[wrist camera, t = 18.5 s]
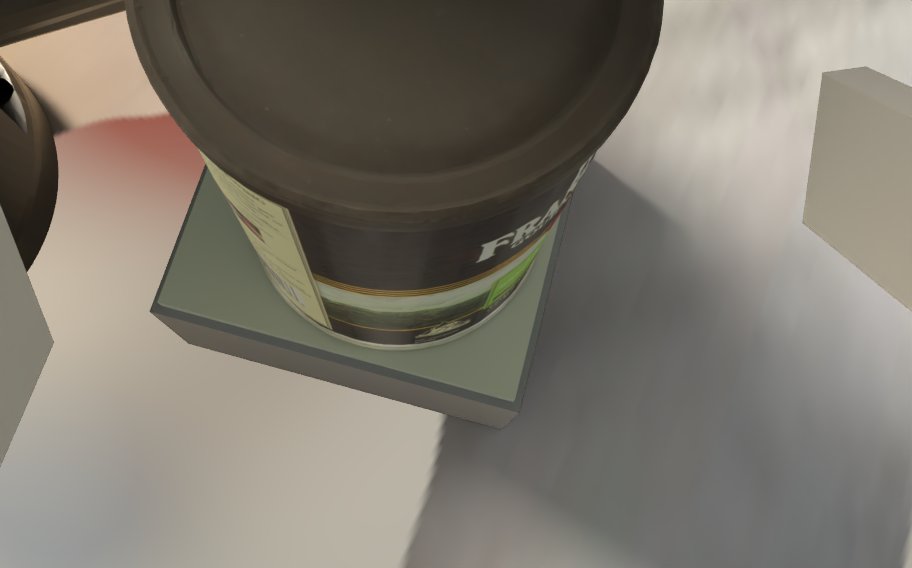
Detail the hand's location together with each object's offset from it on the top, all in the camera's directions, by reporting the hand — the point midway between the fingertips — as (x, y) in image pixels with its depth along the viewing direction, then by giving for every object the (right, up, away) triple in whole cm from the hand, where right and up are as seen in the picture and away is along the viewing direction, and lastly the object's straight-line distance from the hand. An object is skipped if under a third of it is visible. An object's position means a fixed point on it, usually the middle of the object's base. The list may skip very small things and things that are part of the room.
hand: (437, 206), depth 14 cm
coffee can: (-2, +1, +16) cm, 16 cm away
